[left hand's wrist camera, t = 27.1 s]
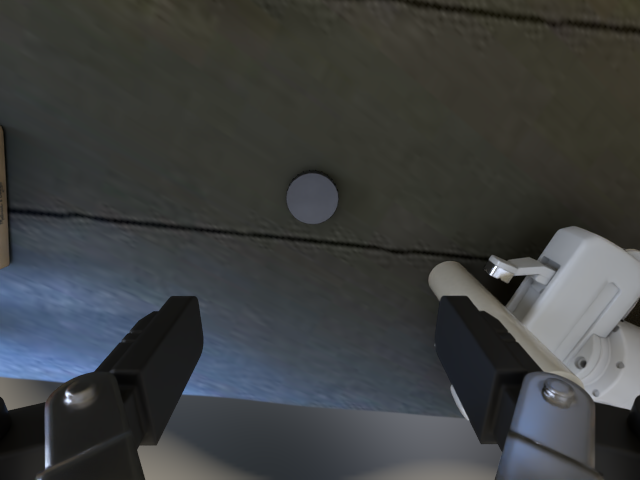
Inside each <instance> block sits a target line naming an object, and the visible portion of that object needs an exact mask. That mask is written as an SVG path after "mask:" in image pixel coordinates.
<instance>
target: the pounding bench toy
mask: <svg viewBox="0 0 640 480" xmlns="http://www.w3.org/2000/svg"><path fill="white" fill-rule="evenodd" d="M7 266H9V240H8V217H7V195H6V175H5V156H4V137H3V130H2V127H1V126H0V269H2V268H4V267H7Z"/></svg>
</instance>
